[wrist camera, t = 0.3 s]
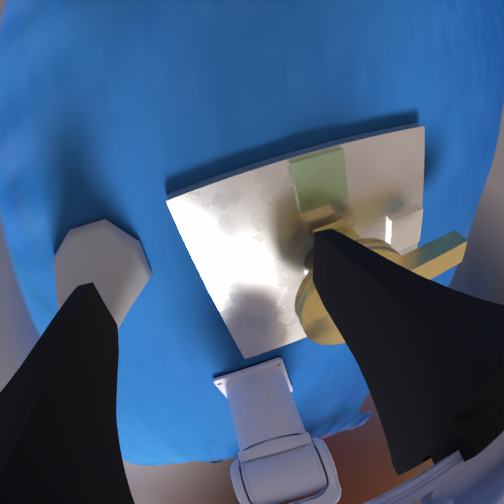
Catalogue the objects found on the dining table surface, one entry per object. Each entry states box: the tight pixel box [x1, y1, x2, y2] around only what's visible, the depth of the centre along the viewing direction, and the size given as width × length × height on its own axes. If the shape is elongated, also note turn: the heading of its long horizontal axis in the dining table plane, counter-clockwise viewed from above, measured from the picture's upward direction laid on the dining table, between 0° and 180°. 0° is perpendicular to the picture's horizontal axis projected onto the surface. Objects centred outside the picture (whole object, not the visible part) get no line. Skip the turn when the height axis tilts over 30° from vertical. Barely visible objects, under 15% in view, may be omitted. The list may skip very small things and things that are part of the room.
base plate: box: [166, 123, 425, 359], centre depth 22 cm, size 18×19×4 cm
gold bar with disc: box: [295, 219, 467, 345], centre depth 20 cm, size 15×8×5 cm, turn 104°
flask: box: [54, 219, 152, 328], centre depth 15 cm, size 7×7×10 cm
